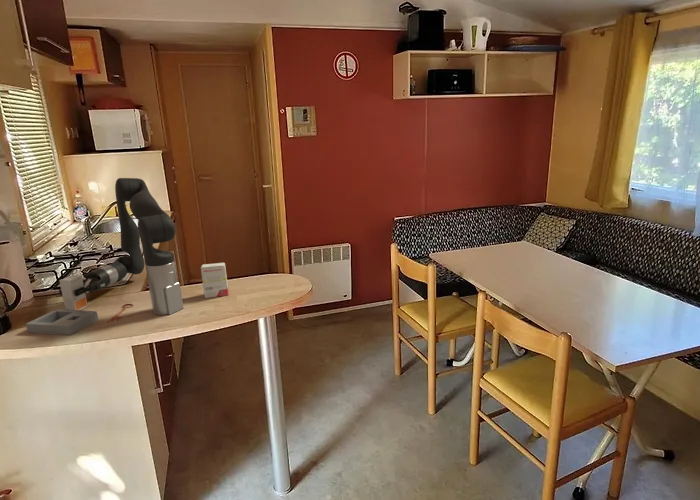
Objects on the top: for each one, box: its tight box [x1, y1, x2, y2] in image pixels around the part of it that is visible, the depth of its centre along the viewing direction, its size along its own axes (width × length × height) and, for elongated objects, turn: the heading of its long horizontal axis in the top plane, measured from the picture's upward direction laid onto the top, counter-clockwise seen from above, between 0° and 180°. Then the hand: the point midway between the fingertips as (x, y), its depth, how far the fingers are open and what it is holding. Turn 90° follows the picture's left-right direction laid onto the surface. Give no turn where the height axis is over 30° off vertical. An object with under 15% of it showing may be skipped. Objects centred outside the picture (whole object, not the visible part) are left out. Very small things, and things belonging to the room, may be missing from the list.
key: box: [107, 303, 134, 323], centre depth 160 cm, size 6×1×15 cm
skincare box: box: [58, 274, 88, 310], centre depth 164 cm, size 6×4×12 cm
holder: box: [25, 308, 99, 336], centre depth 151 cm, size 16×12×3 cm
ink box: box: [200, 262, 229, 299], centre depth 172 cm, size 9×5×12 cm, turn 102°
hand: (67, 293), depth 161 cm, fingers open, 5 cm apart
